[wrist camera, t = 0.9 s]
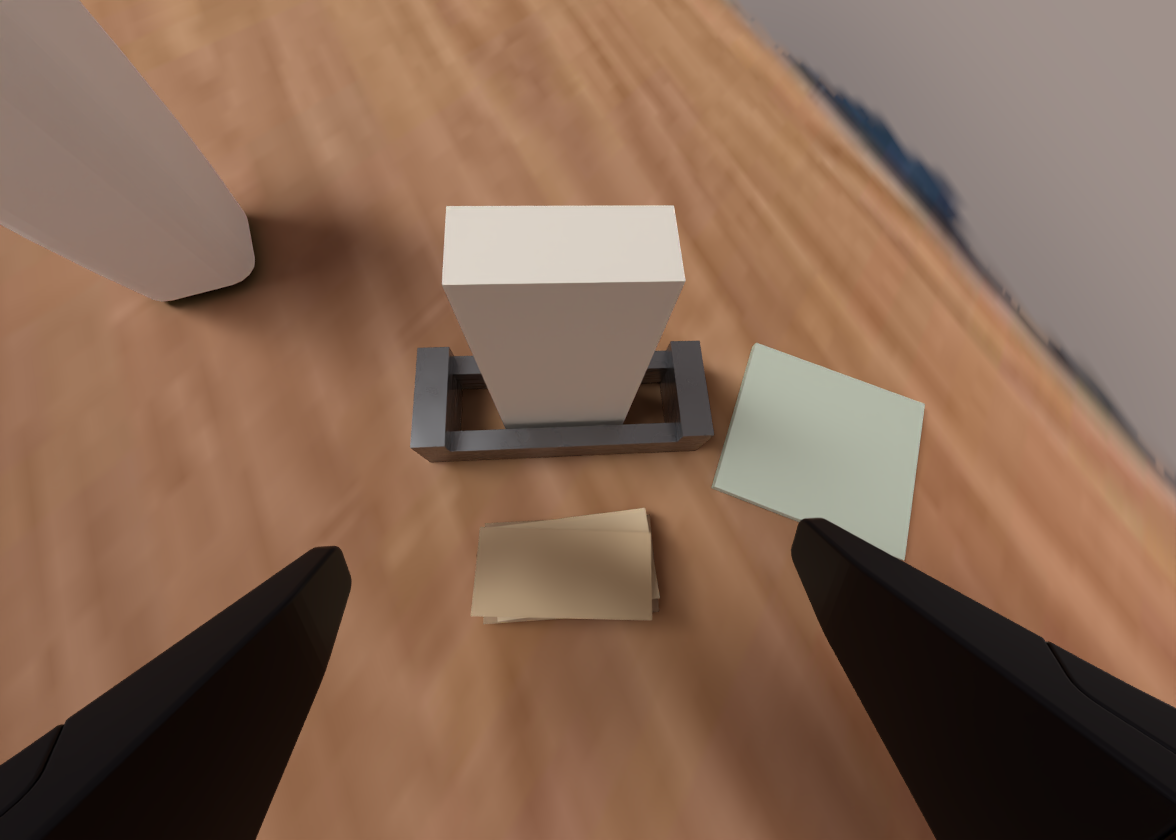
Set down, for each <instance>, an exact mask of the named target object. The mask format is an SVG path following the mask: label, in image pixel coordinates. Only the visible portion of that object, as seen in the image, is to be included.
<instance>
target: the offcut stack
mask: <svg viewBox="0 0 1176 840" xmlns="http://www.w3.org/2000/svg"><path fill="white" fill-rule="evenodd" d="M658 598H660V595H659V589H658V583H657V577H656V571H655V564H654V554H653V544H652V534H651V524H650V514H649V515H646V511H645V508H640V509H633V510H625V511H617V512H609V513H601V514H593V515H585V516H577V517H569V518H561V519H553V520H539V521H521V522H503V523H485V527H480V533H479V542H478V552H477V561H476V571H475V580H474V590H473V599H472V609H471V616H483V624H494V623H508V622H522V621H536V620H550V619H564V618H569V619H610V620H652V612H659V603H658Z"/></svg>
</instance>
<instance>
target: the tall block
mask: <svg viewBox="0 0 1176 840" xmlns="http://www.w3.org/2000/svg"><path fill="white" fill-rule="evenodd" d="M684 283H685V275H684V269H683V262H682V256H681V249H680V243H679V236H678V229H677V223H676V216H675V210H674V206H446V222H445V240H444V257H443V275H442V286H443V289H444V291H445V293H446V295H447V298H448V300H449V302H450V304H451V307H452V309H453V311H454V313H455V316H456V318H457V320H458V322H459V325H460V327H461V329H462V331H463V334H464V336H465V338H466V340H467V343H468V345H469V347H470V349H471V352H472V354H473V356H474V358H475V361H476V363H477V365H478V367H479V370H480V372H481V374H482V376H483V379H484V381H485V383H486V385H487V388H488V390H489V392H490V394H491V397H492V399H493V401H494V404H495V406H496V408H497V410H498V413H499V415H500V417H501V419H502V422H503V424H504V426H505V428H506V429H525V428H551V427H576V426H602V425H623V422H624V420H625V418H626V416H627V413H628V411H629V409H630V406H631V404H632V402H633V400H634V397H635V395H636V393H637V390H638V388H639V386H640V384H641V381H642V379H643V377H644V375H645V372H646V370H647V368H648V365H649V363H650V361H651V359H652V356H653V354H654V352H655V349H656V347H657V345H658V343H659V340H660V338H661V336H662V333H663V331H664V329H665V327H666V324H667V322H668V320H669V317H670V315H671V313H672V311H673V308H674V306H675V304H676V301H677V299H678V297H679V295H680V292H681V290H682V288H683V285H684Z"/></svg>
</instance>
